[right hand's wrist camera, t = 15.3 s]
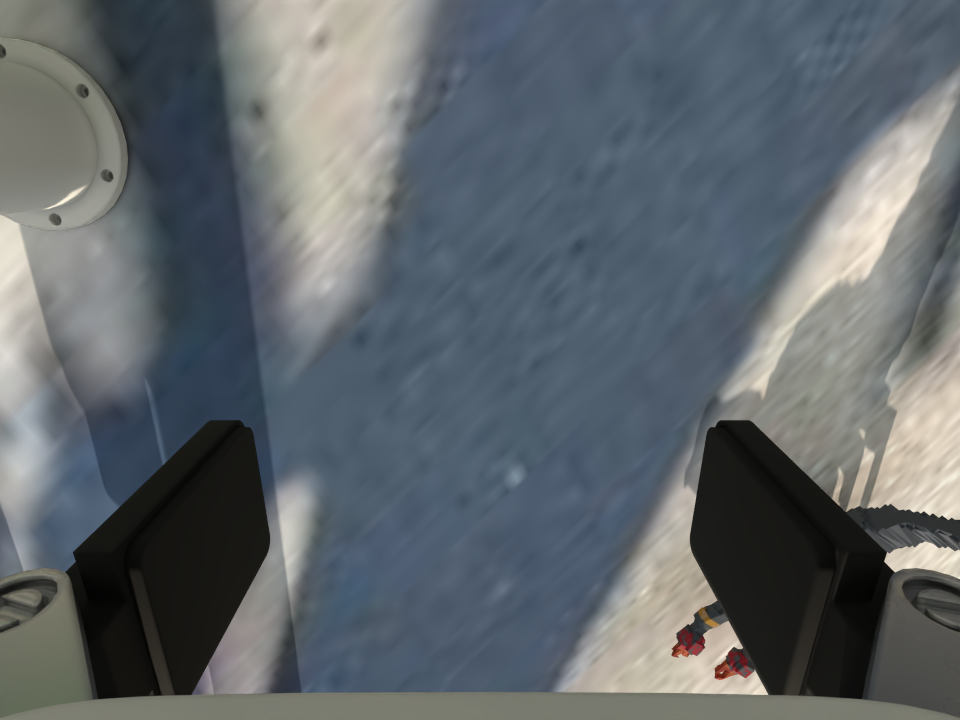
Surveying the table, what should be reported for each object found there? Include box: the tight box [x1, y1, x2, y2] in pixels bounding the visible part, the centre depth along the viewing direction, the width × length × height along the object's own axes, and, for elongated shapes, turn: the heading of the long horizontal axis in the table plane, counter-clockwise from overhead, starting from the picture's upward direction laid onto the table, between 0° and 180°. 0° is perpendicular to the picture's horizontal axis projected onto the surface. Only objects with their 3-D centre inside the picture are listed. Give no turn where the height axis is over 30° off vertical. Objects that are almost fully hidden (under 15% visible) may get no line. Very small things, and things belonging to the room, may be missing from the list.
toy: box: [672, 504, 960, 680], centre depth 43 cm, size 13×27×18 cm, turn 144°
